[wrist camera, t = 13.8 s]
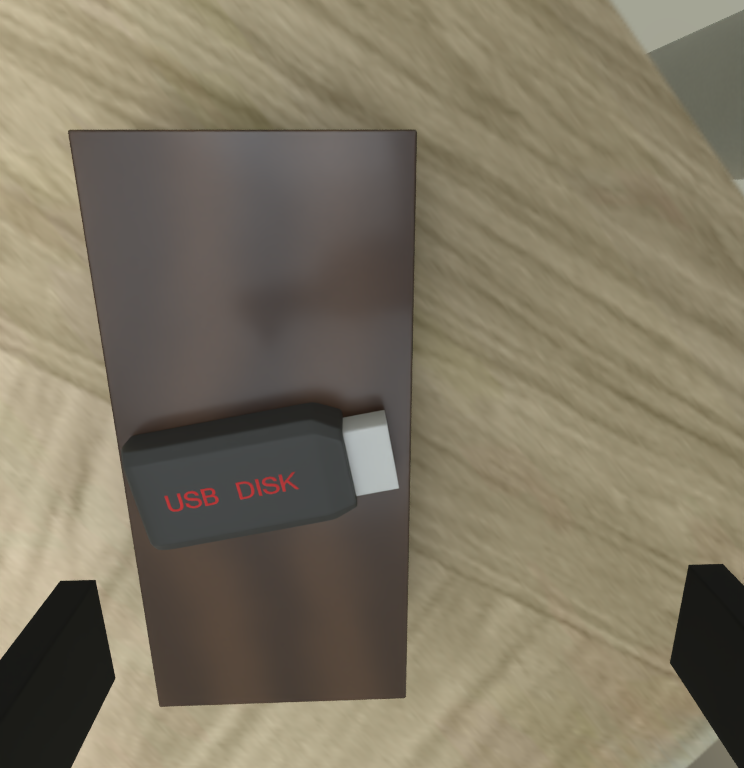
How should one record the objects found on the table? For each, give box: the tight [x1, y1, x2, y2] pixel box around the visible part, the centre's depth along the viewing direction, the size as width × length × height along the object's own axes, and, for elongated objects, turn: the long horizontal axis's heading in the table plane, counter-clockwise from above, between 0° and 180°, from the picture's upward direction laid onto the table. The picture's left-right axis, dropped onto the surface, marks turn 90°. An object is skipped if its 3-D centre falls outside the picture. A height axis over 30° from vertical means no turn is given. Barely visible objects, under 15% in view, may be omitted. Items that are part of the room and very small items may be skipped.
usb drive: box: [121, 402, 399, 550], centre depth 27 cm, size 5×12×3 cm, turn 100°
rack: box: [68, 130, 417, 707], centre depth 32 cm, size 14×30×8 cm, turn 0°
